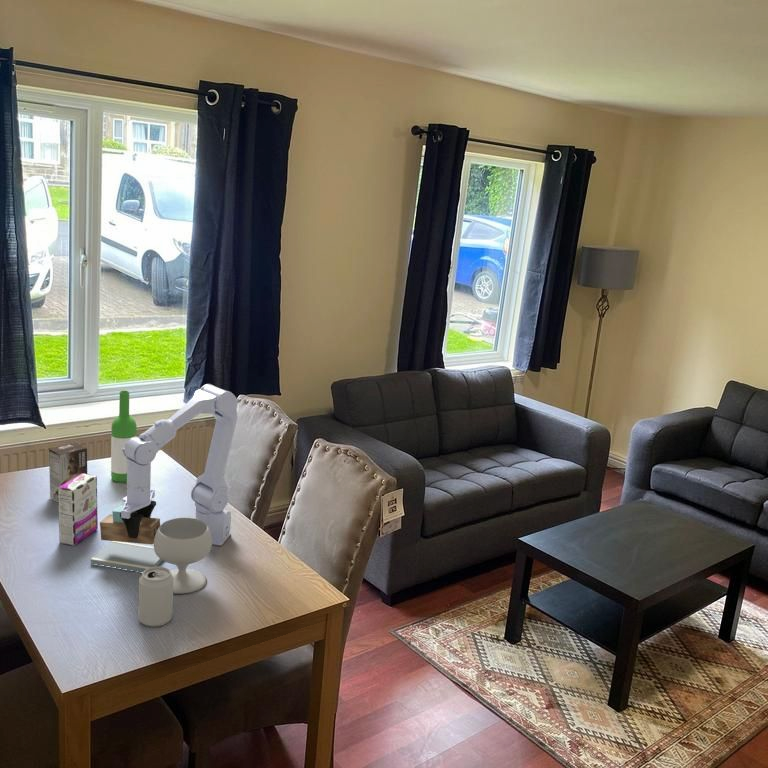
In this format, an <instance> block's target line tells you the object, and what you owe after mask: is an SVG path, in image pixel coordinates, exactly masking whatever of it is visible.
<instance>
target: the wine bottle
mask: <svg viewBox="0 0 768 768" xmlns="http://www.w3.org/2000/svg"><path fill="white" fill-rule="evenodd" d="M118 408H119V409H118V411H119V414H118V415H117V416H116V417H115V418H114V419H113V421H112V423H111V434H110V436H111V438H110V441H111V443H110V445H111V446H110V449H111V450H110V452H111V453H110V455H111V456H110V457H111V458H110V459H111V460H110V475H111V479H112V480H113V482H117V483H127V458H126V457H125V456H124V454H123V451H122V449H124V447H125V444H126V442H127V441H128V440H130V439H131V438H135V437H138V436H137V435H138V434H137V431H138V428H137V422H136V420H135V419H134V417H133V416H131V415H130V392H129V391H128V390H121V391H119V407H118Z"/></svg>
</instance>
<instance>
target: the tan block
mask: <svg viewBox="0 0 768 768" xmlns="http://www.w3.org/2000/svg"><path fill="white" fill-rule="evenodd" d="M160 526H161V518H158V517H150V518H147V517H142V519H141V522H140V526H139V533H138V536H137V538H129V536H128V533H127V529H126V526H125V524H124V523H118V522H113V513H110V514H108V515H107V516H106V517H104V518H103V519H102V520H100V521H99V528H100V529H99V530H100V540H101V541H109V542H111V541H117V542H126V543H132V544H139V545H151V546H153V545H154V539H155V535H156V533H157V530H158V528H159V527H160Z"/></svg>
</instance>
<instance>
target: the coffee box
mask: <svg viewBox="0 0 768 768" xmlns="http://www.w3.org/2000/svg"><path fill="white" fill-rule="evenodd" d="M48 457H49V458H48V459H49V460H48V461H49V462H48V463H49V464H48V465H49V498H50V499H51V500H52V501H55V502H57V503H58V487H60V486H62V485H63V484H65V483H67V482H68V481H70V480H72V479H73V478H75V477H77V476H78V475H80V474H82V473H85V474H88V447H86V446H84V445H82V444H80V443H77V442H72V443H68V444H64V445H60V446H55V447H51V448H48Z"/></svg>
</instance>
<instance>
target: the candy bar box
mask: <svg viewBox="0 0 768 768" xmlns="http://www.w3.org/2000/svg"><path fill="white" fill-rule="evenodd" d="M57 504H58V528H59V529H58V533H59V534H58V535H59V544H63V545H68V546H73V547H75V546H77V545H79V543H81V542H82V541H84V538H85V539H86V538H88V537H89V536H90V535H92V534H93V533H94V532H96V531H97V530H98V527H99V526H98V525H99V524H98V519H99V518H98V476H97V475H94V474H88V473H87V474H85V473H82V474H80V475H78V476H77V477H75V478H73V479H72V480H70V481H68V482H67V483H65V484H63V485H62V486H60V487H58V502H57Z"/></svg>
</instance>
